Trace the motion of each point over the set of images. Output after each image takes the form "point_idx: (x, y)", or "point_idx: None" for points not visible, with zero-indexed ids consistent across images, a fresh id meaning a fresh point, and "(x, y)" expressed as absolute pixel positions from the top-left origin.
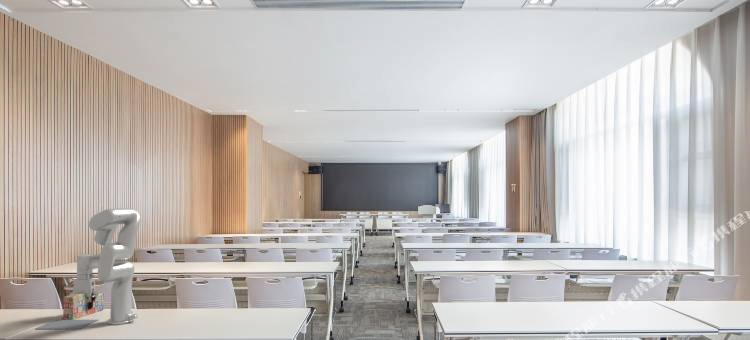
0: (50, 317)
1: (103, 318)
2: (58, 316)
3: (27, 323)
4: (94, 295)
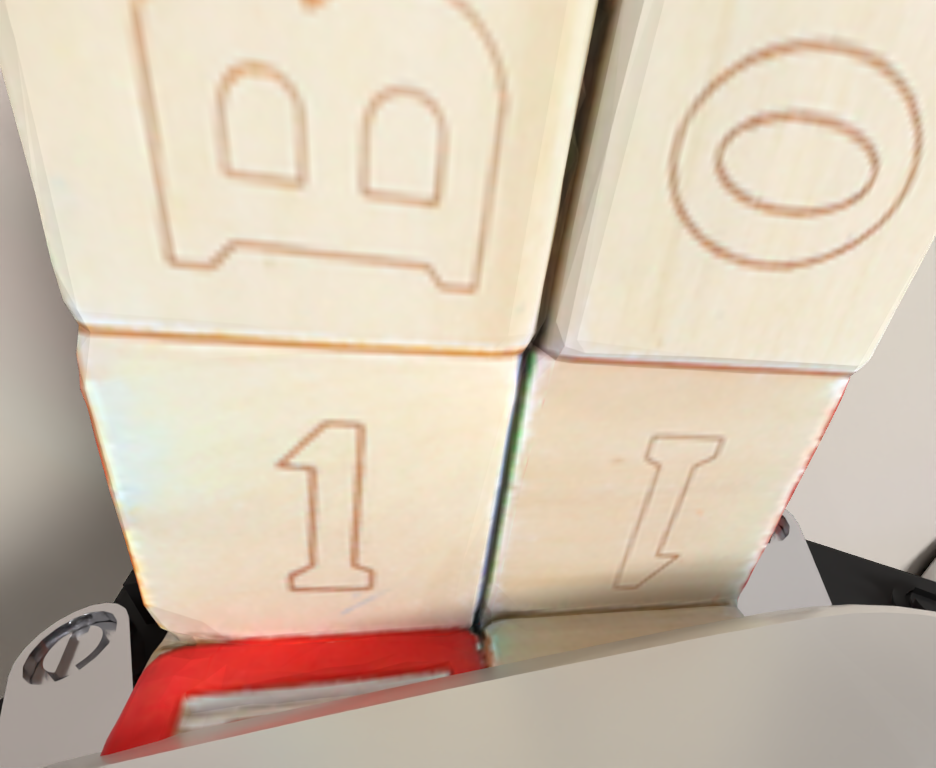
0: (4, 613)
1: (824, 509)
2: (75, 552)
3: None
4: (725, 151)
